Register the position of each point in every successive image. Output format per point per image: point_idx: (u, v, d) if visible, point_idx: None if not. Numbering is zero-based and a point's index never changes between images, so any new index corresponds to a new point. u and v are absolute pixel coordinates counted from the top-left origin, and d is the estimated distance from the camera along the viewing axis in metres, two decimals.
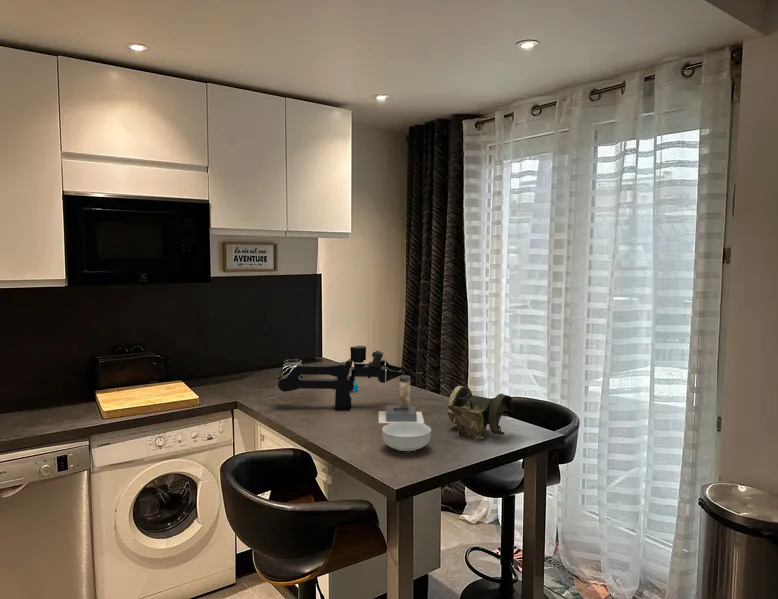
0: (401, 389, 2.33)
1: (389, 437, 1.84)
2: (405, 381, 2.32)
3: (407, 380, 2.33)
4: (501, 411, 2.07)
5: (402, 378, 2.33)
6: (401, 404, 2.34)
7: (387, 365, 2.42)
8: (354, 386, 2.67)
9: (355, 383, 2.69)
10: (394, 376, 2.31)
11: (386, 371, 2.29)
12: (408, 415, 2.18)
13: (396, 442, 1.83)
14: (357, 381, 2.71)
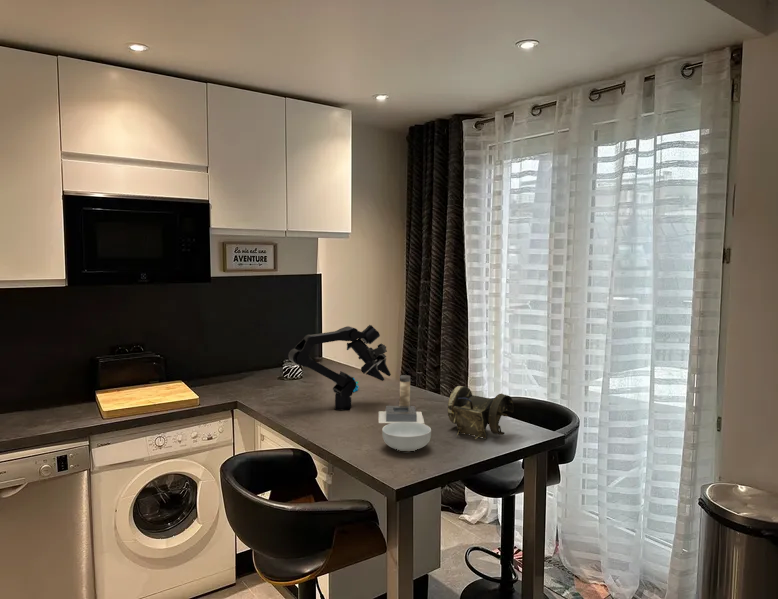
0: (401, 389, 2.33)
1: (389, 437, 1.84)
2: (405, 381, 2.32)
3: (407, 380, 2.33)
4: (501, 411, 2.07)
5: (402, 378, 2.33)
6: (401, 404, 2.34)
7: (382, 362, 2.42)
8: None
9: None
10: (375, 376, 2.32)
11: (372, 367, 2.30)
12: (408, 415, 2.18)
13: (396, 442, 1.83)
14: (357, 381, 2.71)
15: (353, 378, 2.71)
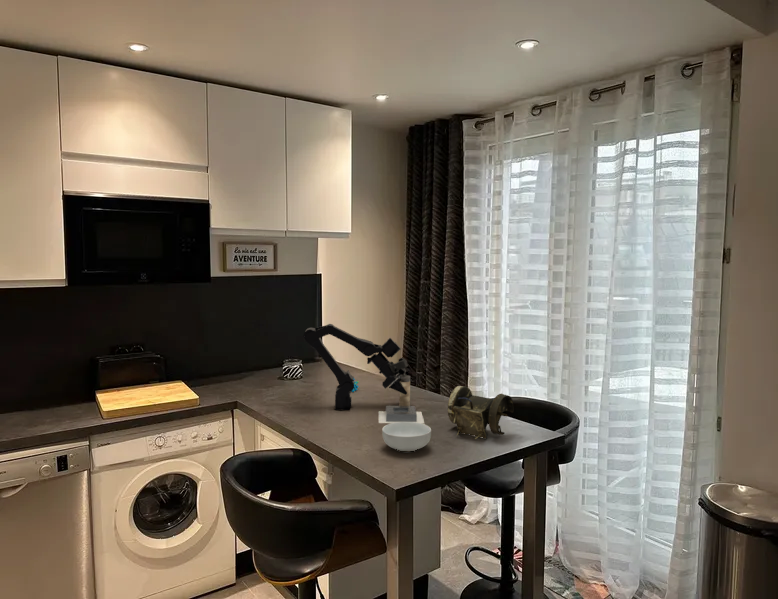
0: None
1: (389, 437, 1.84)
2: (405, 381, 2.32)
3: (407, 380, 2.33)
4: (501, 411, 2.07)
5: (402, 378, 2.33)
6: (401, 404, 2.34)
7: None
8: None
9: (355, 383, 2.69)
10: (398, 389, 2.32)
11: (395, 381, 2.30)
12: (408, 415, 2.18)
13: (396, 442, 1.83)
14: (357, 381, 2.71)
15: None
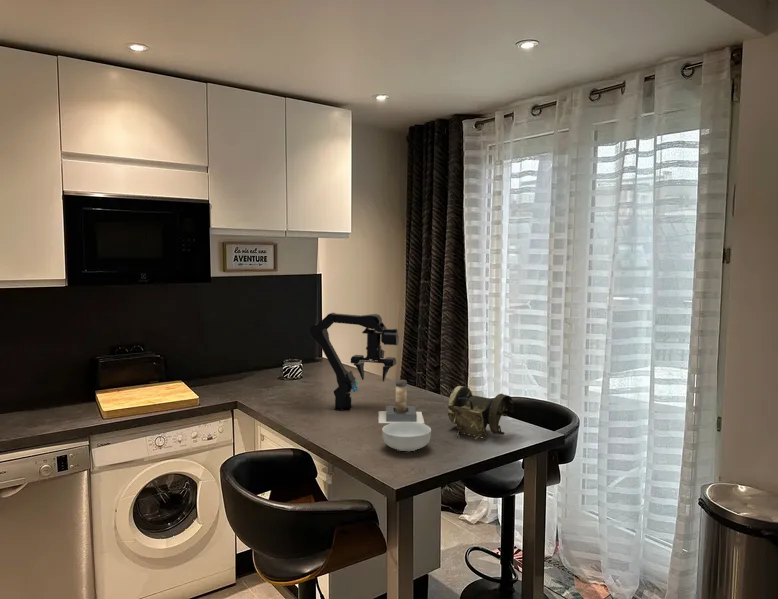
0: (397, 394, 2.22)
1: (389, 437, 1.84)
2: (401, 386, 2.21)
3: (403, 385, 2.22)
4: (501, 411, 2.07)
5: (398, 383, 2.22)
6: (397, 410, 2.23)
7: (363, 364, 2.36)
8: None
9: None
10: (385, 374, 2.31)
11: None
12: (408, 415, 2.18)
13: (396, 442, 1.83)
14: (357, 381, 2.72)
15: None
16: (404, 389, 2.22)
